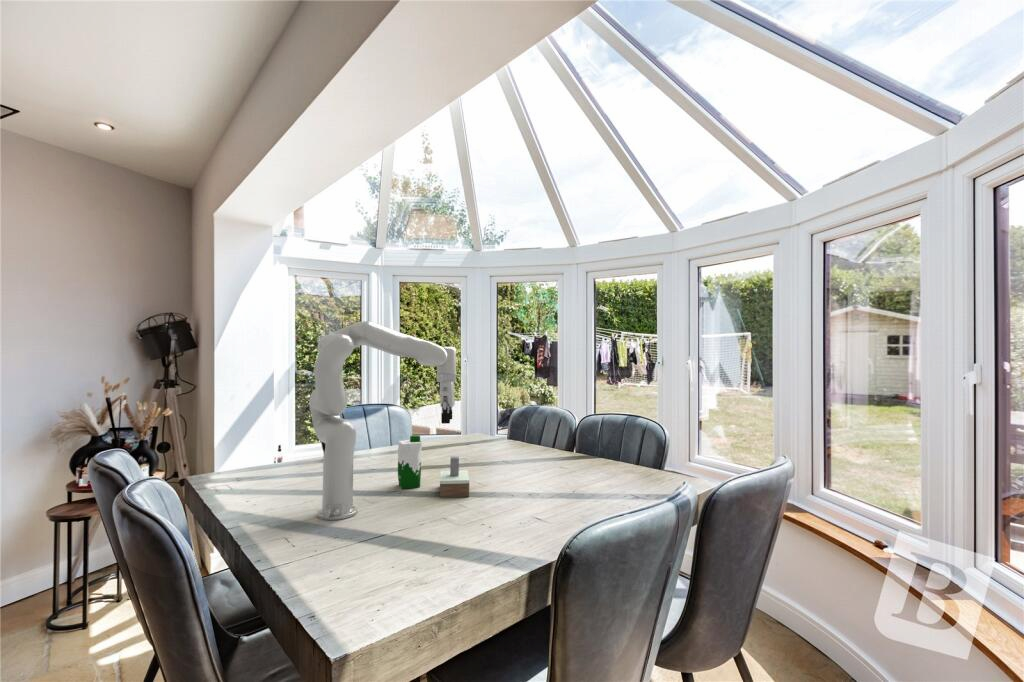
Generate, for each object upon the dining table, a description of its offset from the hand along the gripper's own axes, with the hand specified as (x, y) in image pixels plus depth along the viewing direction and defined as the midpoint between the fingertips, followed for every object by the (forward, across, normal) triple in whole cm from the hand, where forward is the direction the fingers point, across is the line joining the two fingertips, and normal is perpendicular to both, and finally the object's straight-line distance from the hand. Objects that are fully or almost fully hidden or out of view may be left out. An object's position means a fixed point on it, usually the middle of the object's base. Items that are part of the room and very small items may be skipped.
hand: (447, 421), depth 185 cm
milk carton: (+27, +6, +16) cm, 32 cm away
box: (+27, -1, -3) cm, 27 cm away
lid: (+22, -1, -3) cm, 22 cm away
